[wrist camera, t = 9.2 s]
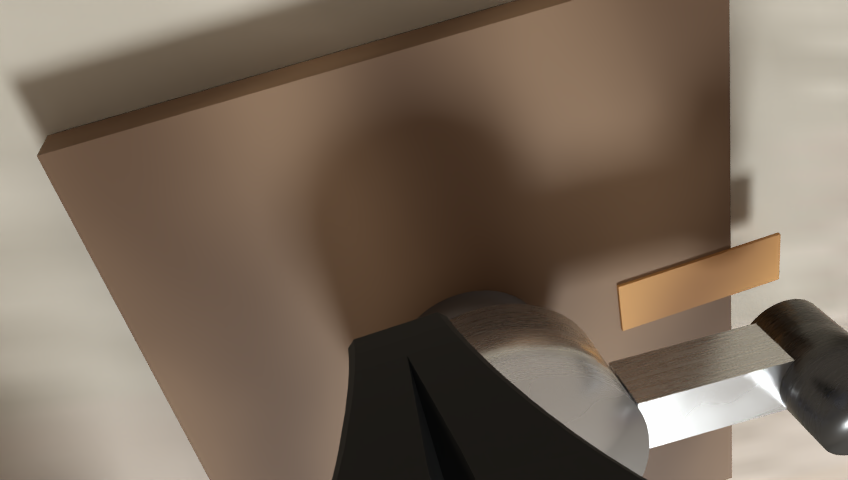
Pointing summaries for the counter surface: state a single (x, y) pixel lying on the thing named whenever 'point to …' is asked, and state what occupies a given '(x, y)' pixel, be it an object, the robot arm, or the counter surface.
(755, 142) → the counter surface
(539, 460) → the robot arm
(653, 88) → the lock base
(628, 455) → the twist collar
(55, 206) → the counter surface
